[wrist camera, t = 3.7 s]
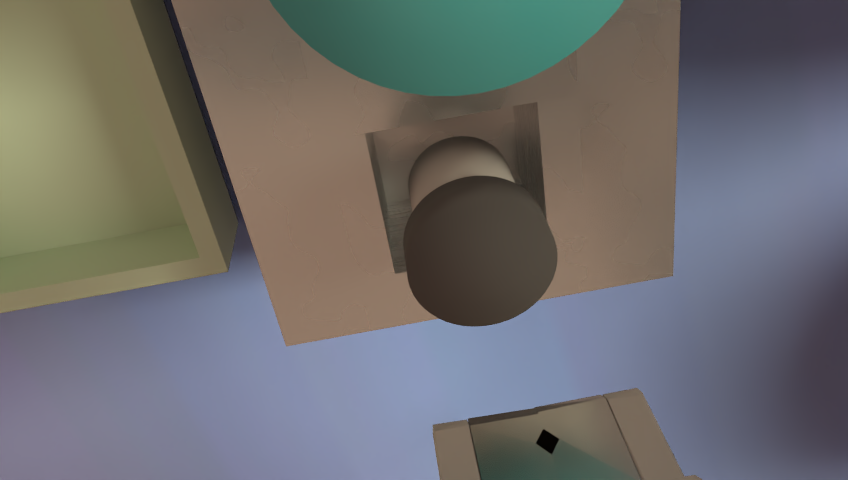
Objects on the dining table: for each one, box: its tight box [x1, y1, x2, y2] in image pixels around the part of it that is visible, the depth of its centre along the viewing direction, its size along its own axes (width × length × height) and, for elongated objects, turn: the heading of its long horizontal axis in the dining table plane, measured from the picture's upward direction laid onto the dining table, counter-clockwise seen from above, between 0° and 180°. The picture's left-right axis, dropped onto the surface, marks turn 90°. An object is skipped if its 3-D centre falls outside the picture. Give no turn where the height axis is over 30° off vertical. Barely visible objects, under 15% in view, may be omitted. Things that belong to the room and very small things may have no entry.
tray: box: [0, 0, 238, 313], centre depth 19 cm, size 8×12×3 cm, turn 9°
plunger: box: [403, 136, 558, 326], centre depth 17 cm, size 3×3×4 cm
